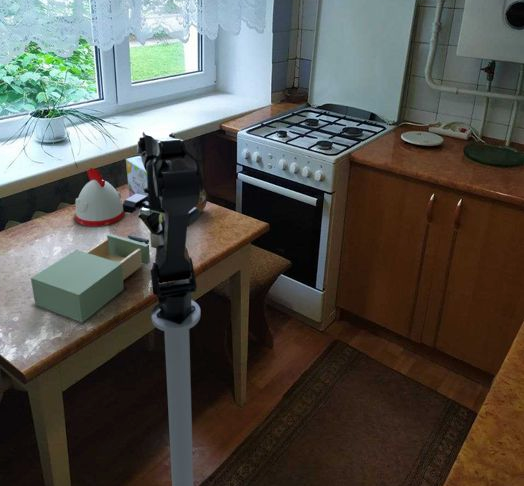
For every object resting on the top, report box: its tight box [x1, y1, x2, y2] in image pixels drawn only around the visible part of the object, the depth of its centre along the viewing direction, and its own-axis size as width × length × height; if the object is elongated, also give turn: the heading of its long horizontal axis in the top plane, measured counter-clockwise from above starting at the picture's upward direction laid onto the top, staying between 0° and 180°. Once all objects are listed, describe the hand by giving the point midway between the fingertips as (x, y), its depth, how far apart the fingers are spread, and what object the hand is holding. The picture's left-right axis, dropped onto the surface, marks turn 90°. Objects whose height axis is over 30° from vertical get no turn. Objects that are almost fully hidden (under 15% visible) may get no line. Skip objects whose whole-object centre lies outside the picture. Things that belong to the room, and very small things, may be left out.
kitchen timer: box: [75, 167, 125, 227], centre depth 149 cm, size 14×14×15 cm
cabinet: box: [30, 249, 125, 323], centre depth 112 cm, size 14×14×7 cm
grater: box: [149, 224, 164, 249], centre depth 121 cm, size 6×3×4 cm, turn 156°
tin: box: [195, 188, 208, 214], centre depth 151 cm, size 15×3×8 cm, turn 144°
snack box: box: [125, 155, 165, 225], centre depth 153 cm, size 21×6×15 cm, turn 41°
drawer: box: [85, 233, 151, 281], centre depth 124 cm, size 17×12×5 cm
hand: (162, 240), depth 122 cm, fingers closed on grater, 2 cm apart
